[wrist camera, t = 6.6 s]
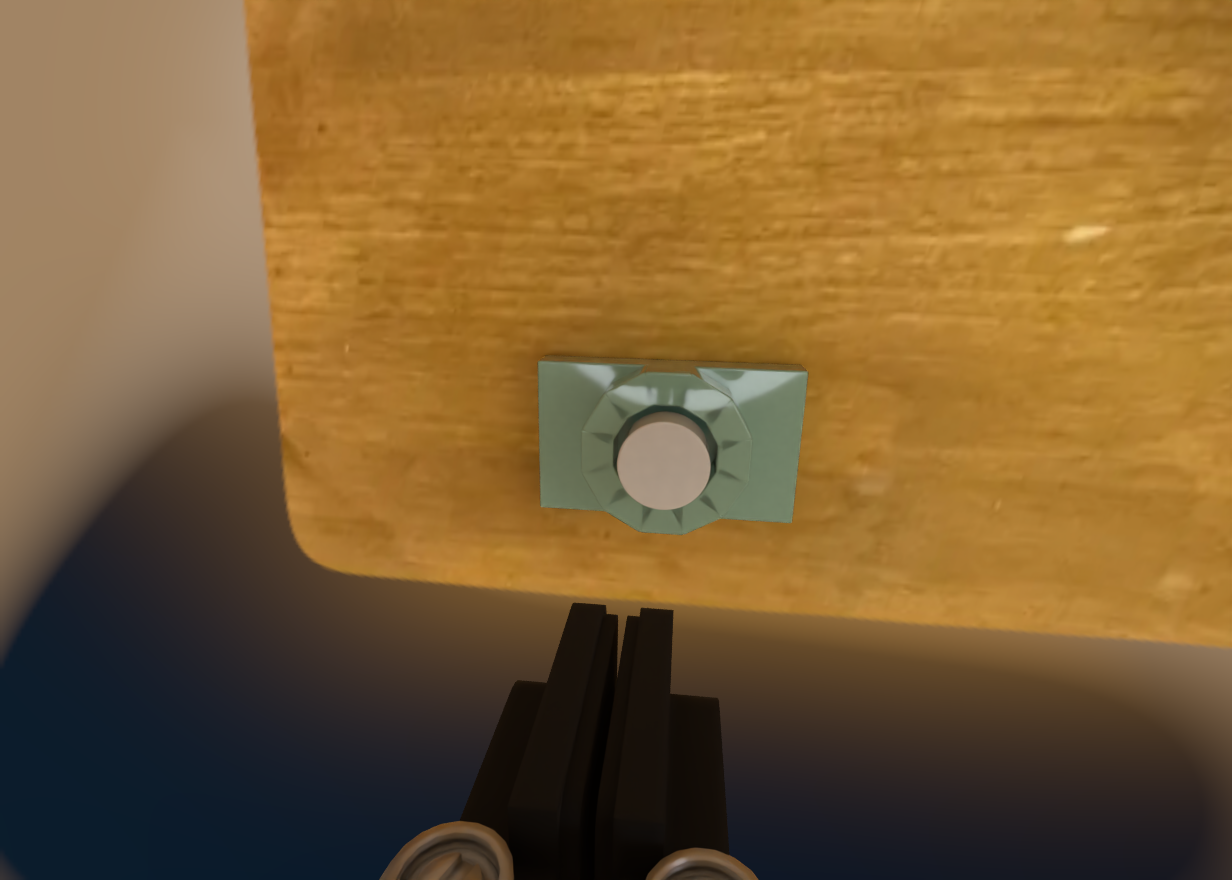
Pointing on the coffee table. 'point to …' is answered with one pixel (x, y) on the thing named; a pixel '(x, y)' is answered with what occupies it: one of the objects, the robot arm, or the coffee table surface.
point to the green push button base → (701, 390)
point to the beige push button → (664, 461)
